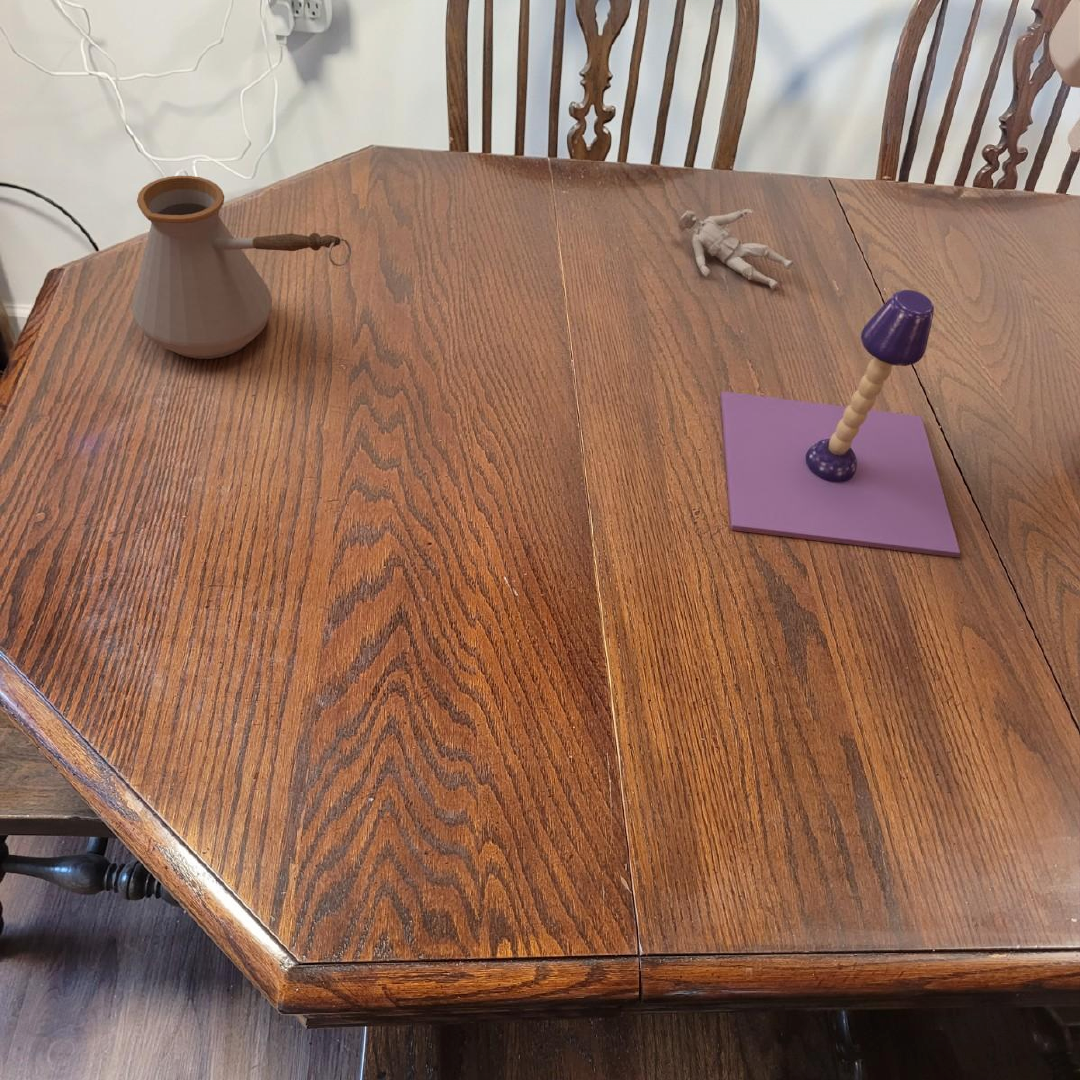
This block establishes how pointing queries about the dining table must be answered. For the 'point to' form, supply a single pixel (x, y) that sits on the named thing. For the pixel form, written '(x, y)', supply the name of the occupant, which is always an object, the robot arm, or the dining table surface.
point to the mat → (823, 506)
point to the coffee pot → (203, 271)
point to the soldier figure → (728, 245)
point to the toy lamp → (875, 376)
